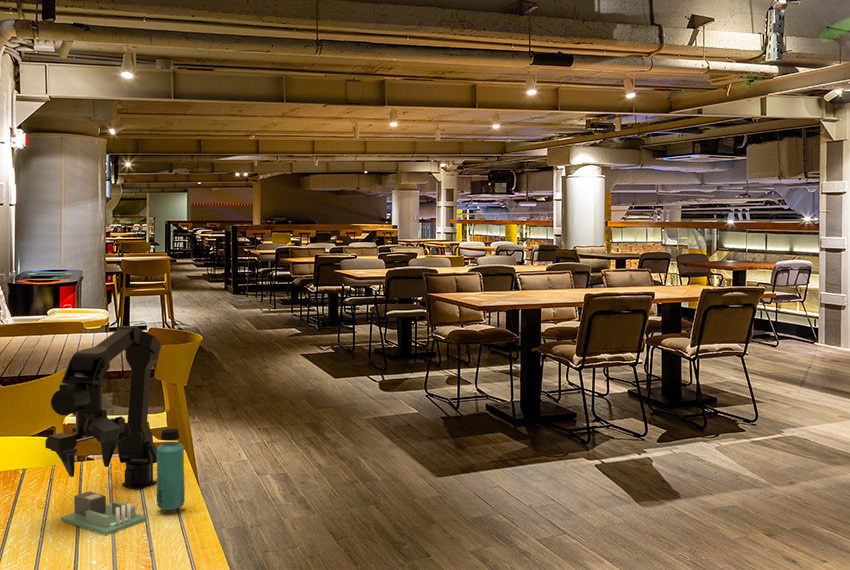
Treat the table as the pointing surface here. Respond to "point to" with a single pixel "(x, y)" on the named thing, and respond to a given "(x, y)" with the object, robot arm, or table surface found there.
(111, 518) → the board
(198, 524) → the table surface
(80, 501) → the plug
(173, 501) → the beverage bottle
